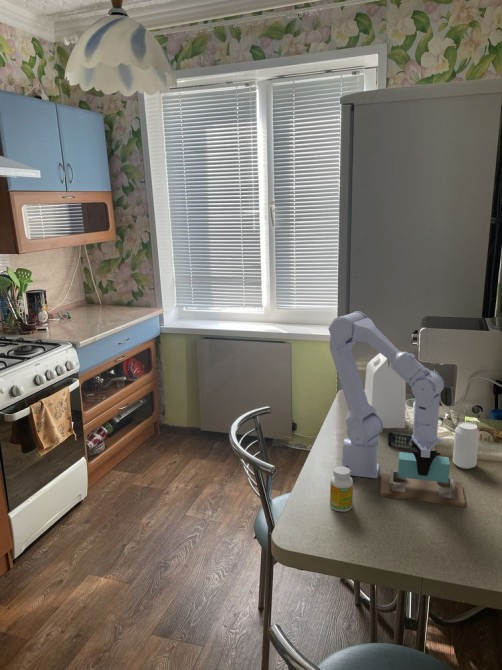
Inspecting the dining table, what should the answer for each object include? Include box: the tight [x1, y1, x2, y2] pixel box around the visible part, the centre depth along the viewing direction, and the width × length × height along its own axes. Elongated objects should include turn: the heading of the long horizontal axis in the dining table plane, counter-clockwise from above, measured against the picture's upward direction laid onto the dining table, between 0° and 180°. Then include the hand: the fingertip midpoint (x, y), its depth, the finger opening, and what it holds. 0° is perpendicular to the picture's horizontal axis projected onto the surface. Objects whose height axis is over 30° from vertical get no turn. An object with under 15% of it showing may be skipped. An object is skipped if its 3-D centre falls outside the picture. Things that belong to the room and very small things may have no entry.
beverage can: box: [452, 421, 480, 470], centre depth 144 cm, size 6×6×12 cm
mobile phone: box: [387, 430, 415, 452], centre depth 154 cm, size 5×3×15 cm
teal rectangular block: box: [397, 451, 451, 483], centre depth 131 cm, size 12×4×5 cm, turn 74°
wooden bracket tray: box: [379, 469, 466, 508], centre depth 132 cm, size 20×10×3 cm, turn 74°
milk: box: [364, 352, 407, 429], centre depth 173 cm, size 12×12×26 cm
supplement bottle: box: [329, 465, 354, 513], centre depth 126 cm, size 5×5×10 cm
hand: (422, 470), depth 131 cm, fingers closed on teal rectangular block, 4 cm apart
